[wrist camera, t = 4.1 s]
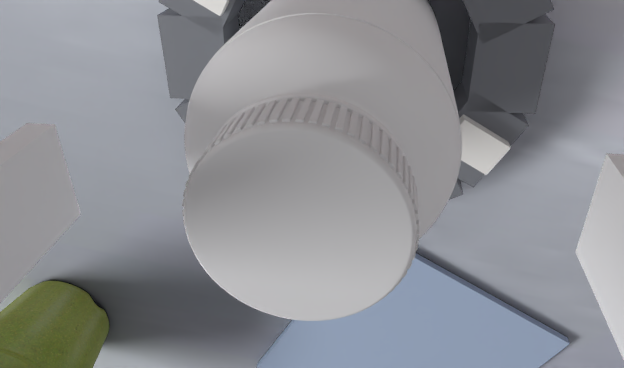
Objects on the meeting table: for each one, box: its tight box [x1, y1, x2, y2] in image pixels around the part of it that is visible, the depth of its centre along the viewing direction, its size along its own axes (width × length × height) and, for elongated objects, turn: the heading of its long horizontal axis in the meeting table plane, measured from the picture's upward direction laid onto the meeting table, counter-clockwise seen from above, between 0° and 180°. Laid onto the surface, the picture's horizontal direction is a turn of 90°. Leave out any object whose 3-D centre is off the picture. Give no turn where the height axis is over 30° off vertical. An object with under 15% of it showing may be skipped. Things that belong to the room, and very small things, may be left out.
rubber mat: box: [256, 253, 570, 368], centre depth 34 cm, size 14×14×1 cm
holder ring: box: [157, 0, 555, 200], centre depth 23 cm, size 16×16×3 cm
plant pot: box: [0, 281, 109, 368], centre depth 33 cm, size 9×9×9 cm
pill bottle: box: [182, 0, 462, 321], centre depth 18 cm, size 8×8×15 cm
